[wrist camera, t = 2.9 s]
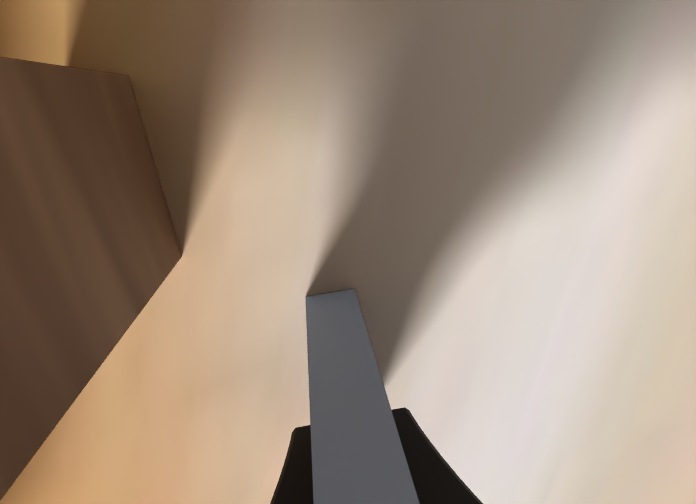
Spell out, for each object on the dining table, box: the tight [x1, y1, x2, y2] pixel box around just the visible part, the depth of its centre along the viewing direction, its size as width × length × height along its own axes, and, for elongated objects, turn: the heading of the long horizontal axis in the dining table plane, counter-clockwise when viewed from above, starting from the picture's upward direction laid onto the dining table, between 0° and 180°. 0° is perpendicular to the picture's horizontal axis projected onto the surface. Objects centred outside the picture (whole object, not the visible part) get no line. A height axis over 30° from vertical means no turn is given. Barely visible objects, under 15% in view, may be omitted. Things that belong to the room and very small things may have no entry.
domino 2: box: [306, 289, 419, 504], centre depth 10 cm, size 2×5×8 cm, turn 7°
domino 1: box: [0, 57, 182, 500], centre depth 8 cm, size 2×5×8 cm, turn 7°
